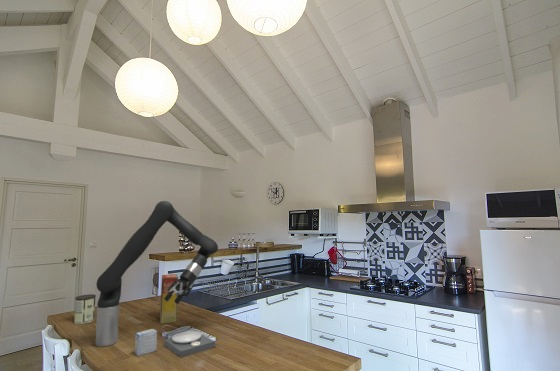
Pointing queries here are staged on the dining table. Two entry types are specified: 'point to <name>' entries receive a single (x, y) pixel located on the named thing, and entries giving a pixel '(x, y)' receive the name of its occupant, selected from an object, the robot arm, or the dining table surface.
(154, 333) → the medicine box
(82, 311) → the coffee can
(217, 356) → the dining table surface
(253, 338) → the dining table surface
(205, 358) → the dining table surface
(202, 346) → the kitchen scale
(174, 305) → the food packaging
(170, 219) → the robot arm
